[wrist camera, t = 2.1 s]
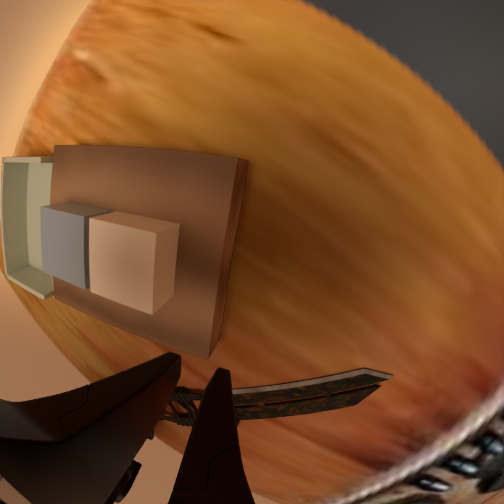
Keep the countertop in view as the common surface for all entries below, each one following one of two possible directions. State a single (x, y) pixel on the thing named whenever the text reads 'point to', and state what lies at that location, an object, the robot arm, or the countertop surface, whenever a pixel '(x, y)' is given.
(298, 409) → the knife
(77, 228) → the grey block
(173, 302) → the board
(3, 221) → the tray
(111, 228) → the cream block
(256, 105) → the countertop surface
